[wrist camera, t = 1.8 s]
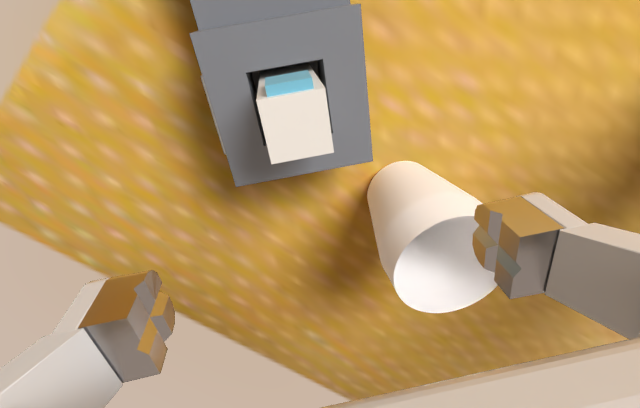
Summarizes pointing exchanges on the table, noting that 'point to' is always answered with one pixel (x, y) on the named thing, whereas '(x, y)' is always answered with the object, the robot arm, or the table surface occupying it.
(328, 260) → the table surface
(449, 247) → the cup
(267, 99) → the plug
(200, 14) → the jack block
